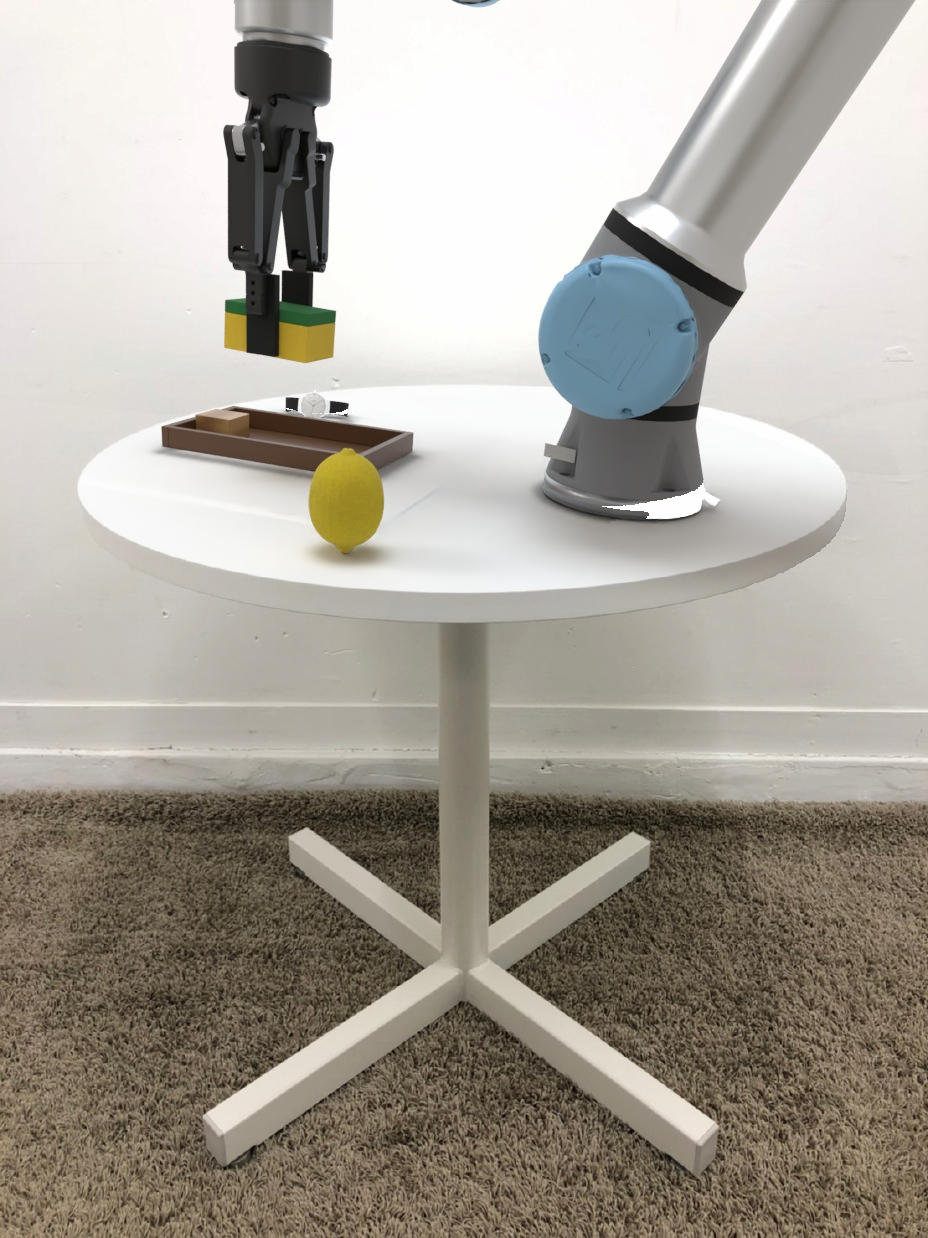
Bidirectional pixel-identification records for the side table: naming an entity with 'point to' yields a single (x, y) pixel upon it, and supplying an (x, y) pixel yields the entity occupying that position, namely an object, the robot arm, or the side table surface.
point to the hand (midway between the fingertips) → (280, 350)
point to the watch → (315, 405)
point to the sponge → (287, 330)
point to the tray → (291, 440)
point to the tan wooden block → (223, 422)
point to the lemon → (346, 500)
